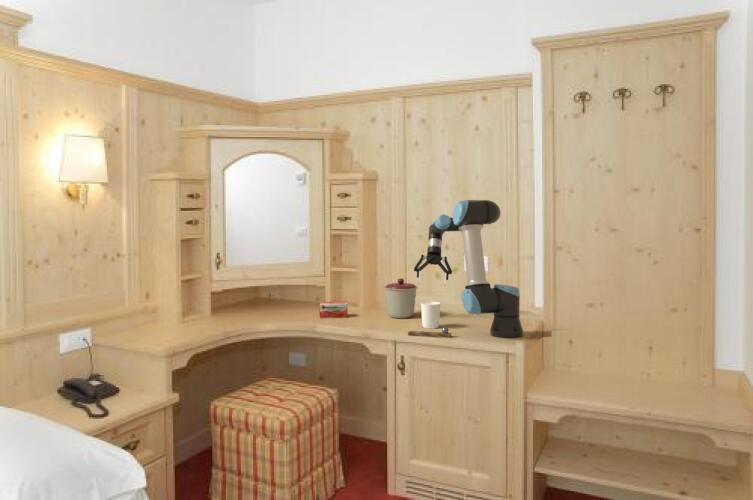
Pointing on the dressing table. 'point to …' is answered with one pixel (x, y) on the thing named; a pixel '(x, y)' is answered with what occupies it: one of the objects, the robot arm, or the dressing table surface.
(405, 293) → the canister
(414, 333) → the hole rail
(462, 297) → the robot arm
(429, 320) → the white cup
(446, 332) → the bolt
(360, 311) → the dressing table surface
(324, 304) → the medicine box
